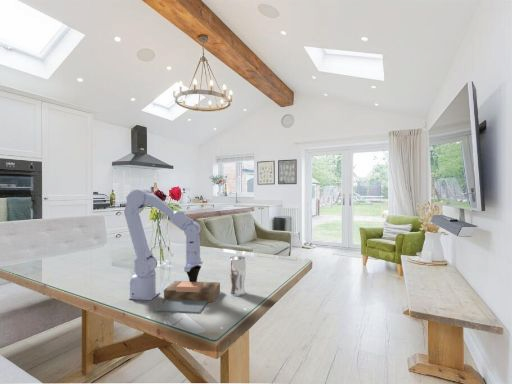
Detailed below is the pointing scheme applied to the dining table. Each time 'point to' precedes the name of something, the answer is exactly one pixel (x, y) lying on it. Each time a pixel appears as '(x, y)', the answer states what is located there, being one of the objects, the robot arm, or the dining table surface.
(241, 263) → the beer glass
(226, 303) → the dining table surface
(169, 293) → the brown wooden block
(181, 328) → the dining table surface
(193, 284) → the tile
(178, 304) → the mat
